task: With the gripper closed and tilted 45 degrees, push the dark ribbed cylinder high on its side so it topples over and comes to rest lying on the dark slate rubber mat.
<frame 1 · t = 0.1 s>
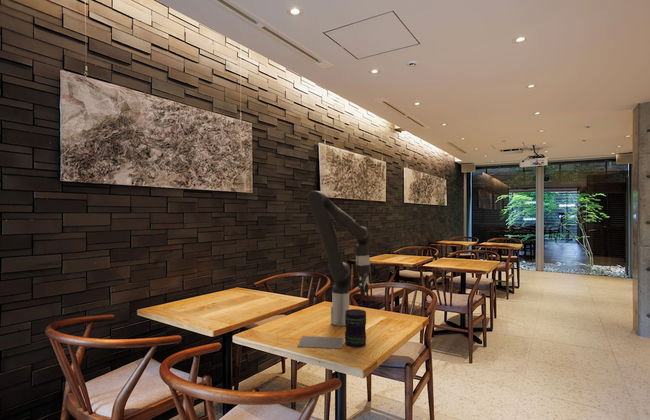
hand: (364, 294, 198), 17 cm above the table, tool pointing down, fingers open, 8 cm apart
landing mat: (321, 342, 173), on the table
dark ribbed cylinder: (355, 344, 172), on the table
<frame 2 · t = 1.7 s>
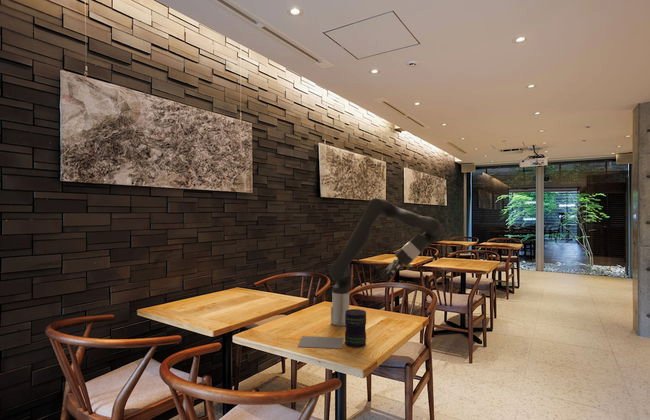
hand: (382, 278, 171), 31 cm above the table, tool tilted 45°, fingers open, 7 cm apart
nothing on the table moved.
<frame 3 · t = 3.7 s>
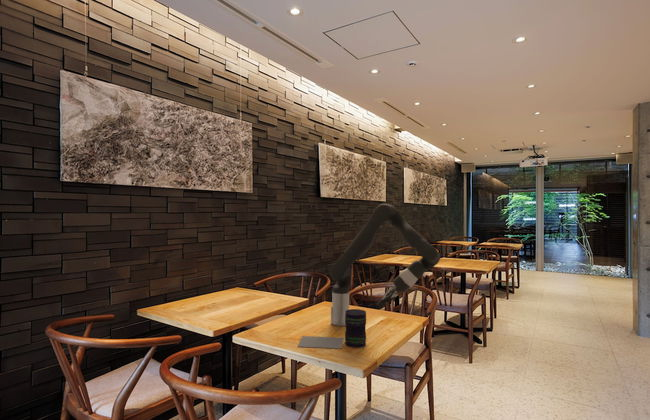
hand: (378, 306, 171), 18 cm above the table, tool tilted 45°, fingers closed
nothing on the table moved.
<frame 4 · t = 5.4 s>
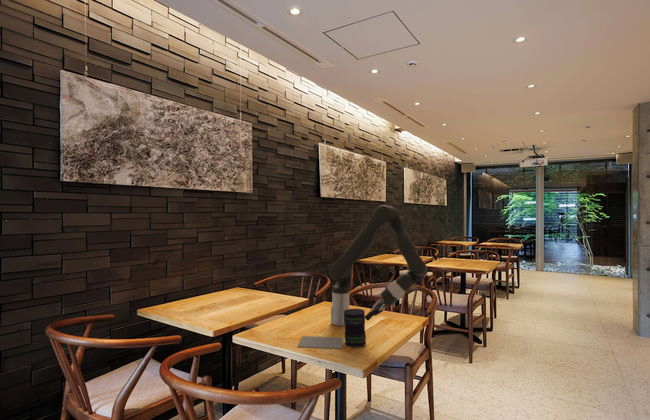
hand: (366, 318, 171), 12 cm above the table, tool tilted 45°, fingers closed
dark ribbed cylinder: (355, 343, 172), on the table, touching gripper
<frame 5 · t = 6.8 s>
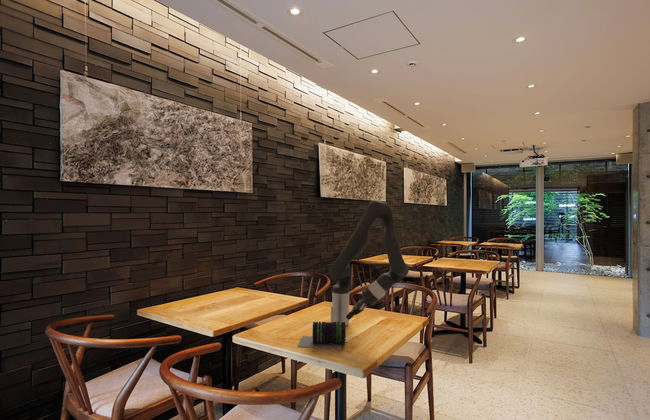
hand: (347, 318, 172), 12 cm above the table, tool tilted 45°, fingers closed
dark ribbed cylinder: (345, 332, 172), point 5 cm above the table, touching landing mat
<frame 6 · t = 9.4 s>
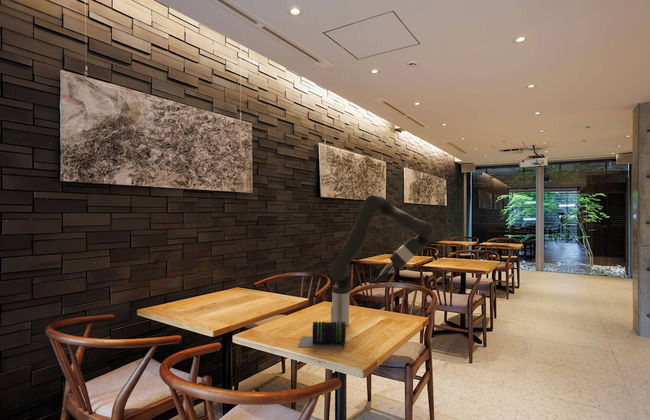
hand: (375, 282, 175), 28 cm above the table, tool tilted 45°, fingers closed
nothing on the table moved.
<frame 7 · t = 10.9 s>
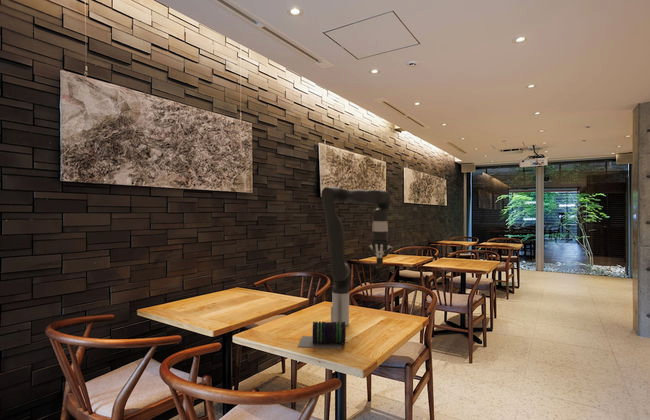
hand: (379, 265, 183), 35 cm above the table, tool pointing down, fingers closed
nothing on the table moved.
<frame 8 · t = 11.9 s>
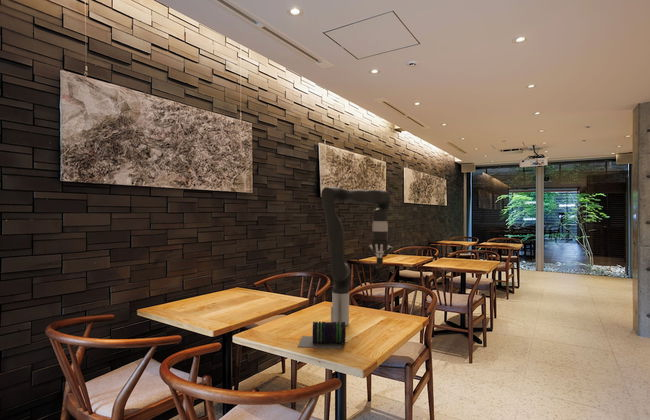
hand: (379, 265, 183), 35 cm above the table, tool pointing down, fingers closed
nothing on the table moved.
at the end: dark ribbed cylinder tilted 90°; dark ribbed cylinder touching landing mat; the gripper is holding nothing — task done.
